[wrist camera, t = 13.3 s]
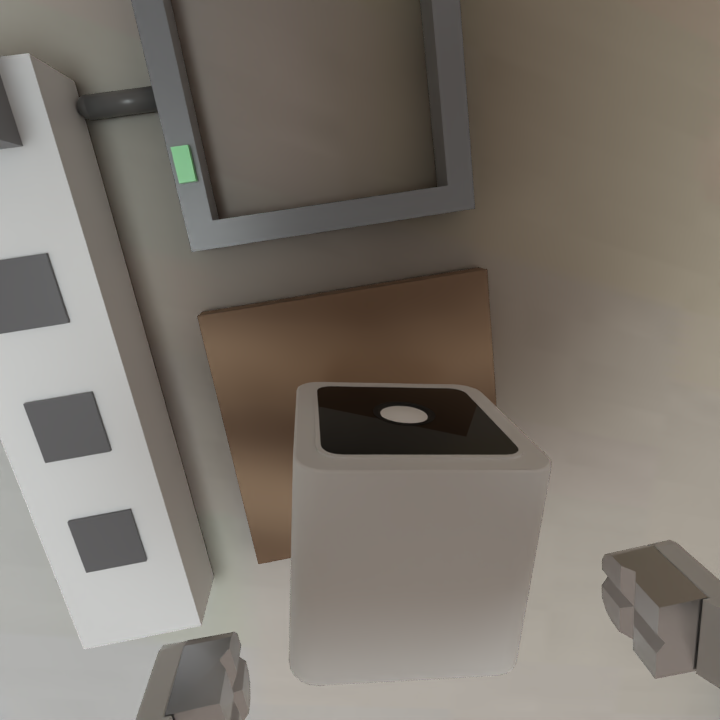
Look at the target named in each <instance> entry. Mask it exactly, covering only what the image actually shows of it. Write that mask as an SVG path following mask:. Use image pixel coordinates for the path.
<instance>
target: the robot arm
mask: <svg viewBox="0 0 720 720" xmlns="http://www.w3.org/2000/svg"><path fill="white" fill-rule="evenodd" d="M602 570H603V571H604V572H605V573H606V575H607V576H608V577H607V578H606V580H605V581H604V583H603V584H602V599H603V602H604V605H605V609H606V611H607V613H608V615H609V617H610V619H611V621H612V622H613V624H614V625H615V626H616V628H617V629H618V631H619V632H621V633H623V634H625V635H627V636H628V637H630V638H632V639H633V650H634V652H635V653H636V654H637V656H638V657H639V658H640V660H641V661H642V662H643V663H644V665H645V666H646V667H647V669H648V670H649V671H650V673H651V674H652V675H653V677H654V678H655V679H656V678H662V677H667V676H672V675H677V674H682V673H687V672H693V671H696V674H698V675H700V676H701V677H703V678H704V679H706V680H707V681H709V682H710V683H712V684H713V685H715V686H717V687H718V688H720V580H719V579H718V578H716V577H715V576H714V575H713V574H712V573H711V572H710V571H708V570H707V569H706V568H705V567H704V566H703V565H702V564H700V563H699V562H698V561H697V560H696V559H695V558H694V557H692V556H691V555H690V554H689V553H688V552H687V551H685V550H684V549H683V548H682V547H681V546H680V545H679V544H677V543H676V542H674V541H671V540H667V541H662V542H658V543H653V544H649V545H647V546H646V545H645V546H640V547H635V548H631V549H626V550H622V551H617V552H613V553H608V554H605V555H604V557H603V559H602ZM240 649H241V643H240V640H239V637H238V634H237V633H235V632H231V633H225V634H220V635H214V636H209V637H203V638H198V639H192V640H188V641H185V642H179V643H173V644H168V645H163V647H162V648H161V649H160V651H159V652H158V655H157V657H156V660H155V663H154V666H153V669H152V672H151V675H150V678H149V681H148V684H147V687H146V690H145V693H144V696H143V699H142V702H141V705H140V708H139V711H138V714H137V717H136V720H244V719H245V718H246V717H247V715H248V714H249V707H250V679H249V672H248V668H247V664H246V661H245V660H243V659H242V658H240V657H239V656H240Z"/></svg>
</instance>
